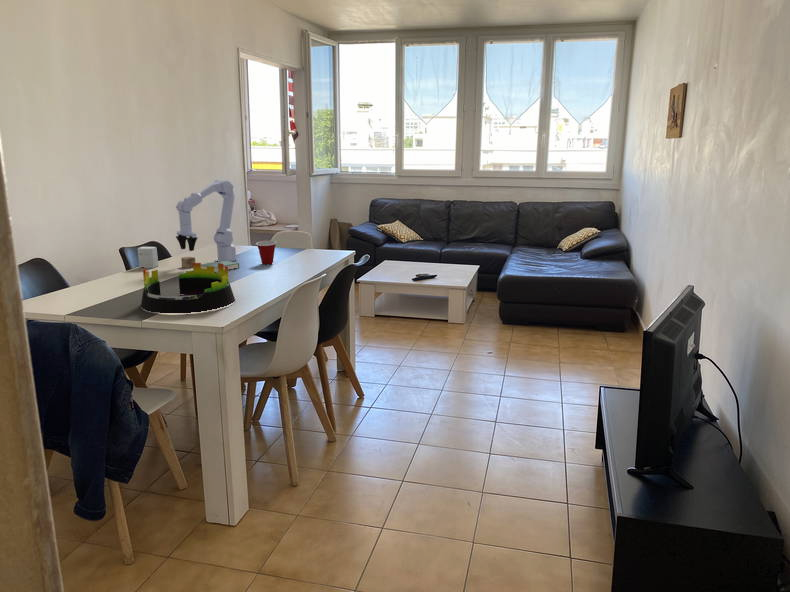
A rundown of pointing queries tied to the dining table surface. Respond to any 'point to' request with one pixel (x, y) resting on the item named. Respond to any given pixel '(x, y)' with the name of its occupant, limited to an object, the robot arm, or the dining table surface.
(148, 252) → the small box
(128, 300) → the dining table surface
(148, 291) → the decorative container
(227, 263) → the book
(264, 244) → the plastic cup
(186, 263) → the walnut block
